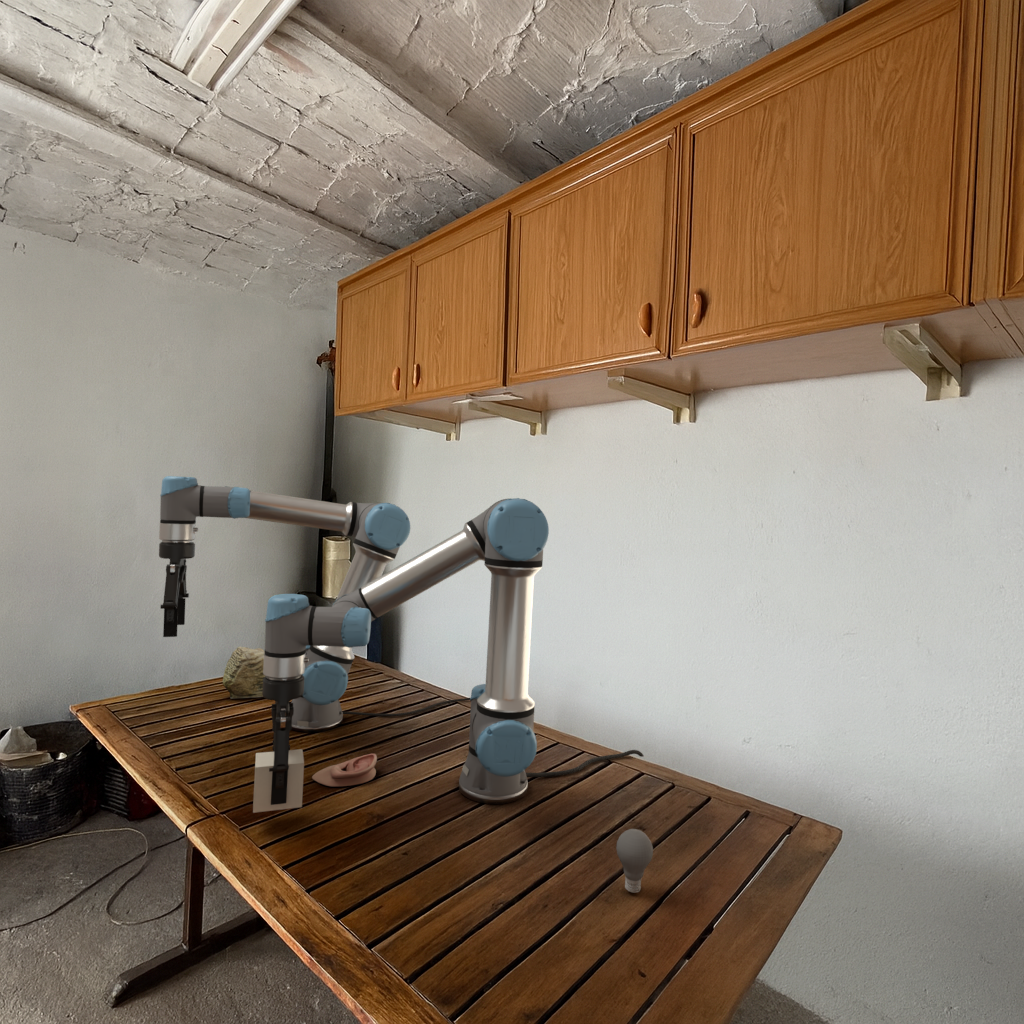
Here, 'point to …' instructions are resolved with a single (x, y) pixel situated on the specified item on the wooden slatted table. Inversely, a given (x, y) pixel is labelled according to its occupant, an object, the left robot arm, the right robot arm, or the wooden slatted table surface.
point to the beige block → (265, 781)
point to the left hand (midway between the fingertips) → (174, 630)
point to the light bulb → (634, 857)
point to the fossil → (245, 673)
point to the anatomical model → (348, 772)
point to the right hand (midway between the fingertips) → (278, 793)
